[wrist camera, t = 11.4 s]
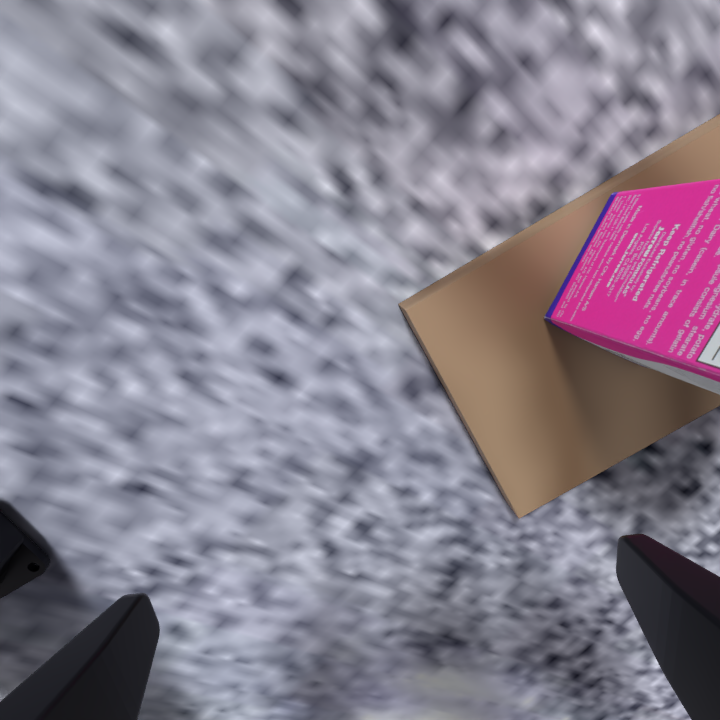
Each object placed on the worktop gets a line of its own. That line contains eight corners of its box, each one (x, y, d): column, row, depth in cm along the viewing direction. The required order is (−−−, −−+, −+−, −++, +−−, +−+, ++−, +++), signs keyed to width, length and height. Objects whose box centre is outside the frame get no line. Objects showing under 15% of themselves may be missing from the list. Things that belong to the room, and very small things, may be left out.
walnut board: (505, 500, 24) (551, 562, 19) (398, 304, 20) (425, 326, 16) (853, 303, 23) (981, 322, 18) (810, 60, 19) (959, 13, 15)
